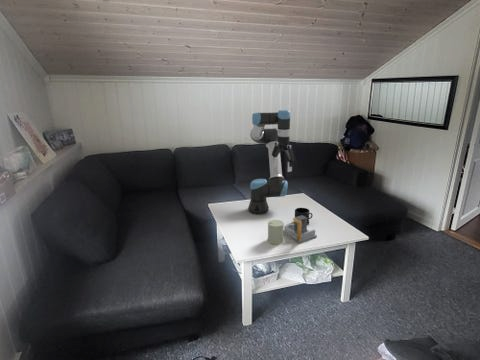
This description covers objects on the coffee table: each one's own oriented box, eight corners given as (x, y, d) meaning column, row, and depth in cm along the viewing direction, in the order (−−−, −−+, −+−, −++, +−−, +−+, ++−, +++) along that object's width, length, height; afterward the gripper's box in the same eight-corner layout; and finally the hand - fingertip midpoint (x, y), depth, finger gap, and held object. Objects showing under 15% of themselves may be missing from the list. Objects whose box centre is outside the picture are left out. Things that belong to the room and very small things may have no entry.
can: (266, 237, 178) (266, 219, 174) (281, 236, 178) (281, 218, 175) (269, 245, 169) (269, 226, 165) (284, 244, 170) (285, 225, 166)
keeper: (281, 232, 183) (282, 212, 179) (298, 227, 190) (299, 207, 186) (299, 243, 170) (299, 222, 166) (316, 237, 177) (318, 216, 173)
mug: (314, 225, 192) (315, 212, 190) (296, 226, 191) (297, 213, 188) (309, 219, 201) (310, 206, 199) (292, 220, 200) (293, 208, 197)
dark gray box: (293, 232, 180) (294, 217, 177) (301, 229, 183) (301, 215, 180) (299, 235, 176) (299, 220, 173) (306, 232, 179) (307, 217, 176)
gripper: (266, 134, 190) (266, 165, 196) (292, 139, 169) (291, 174, 176) (275, 132, 193) (275, 164, 200) (302, 138, 173) (300, 172, 179)
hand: (282, 169), depth 188 cm, fingers open, 13 cm apart
